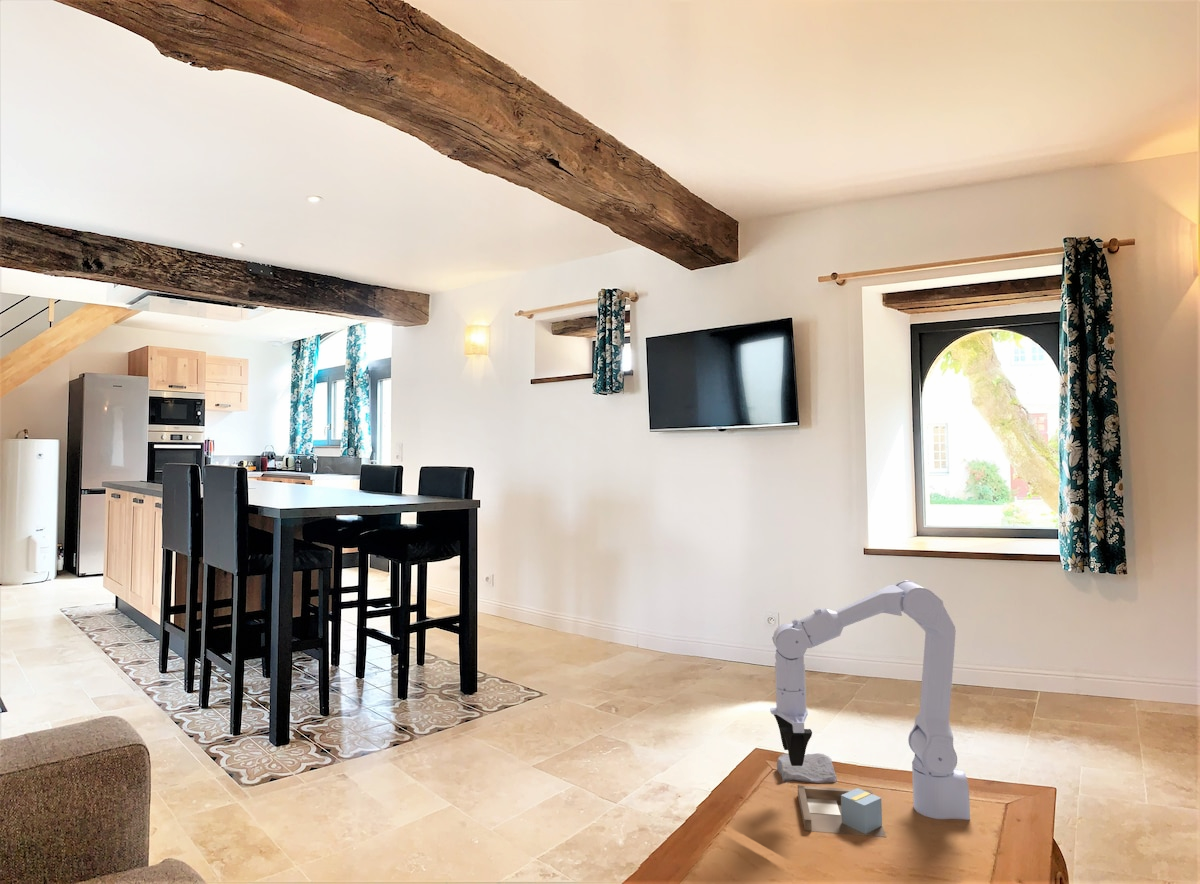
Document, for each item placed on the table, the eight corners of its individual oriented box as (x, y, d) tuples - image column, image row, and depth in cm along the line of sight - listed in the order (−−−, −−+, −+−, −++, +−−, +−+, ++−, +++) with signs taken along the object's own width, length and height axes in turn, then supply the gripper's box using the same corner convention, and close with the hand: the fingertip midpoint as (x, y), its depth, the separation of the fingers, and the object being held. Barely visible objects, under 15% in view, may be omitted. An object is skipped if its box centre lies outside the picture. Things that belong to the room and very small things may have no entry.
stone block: (841, 798, 147) (830, 768, 157) (840, 777, 146) (829, 748, 156) (783, 798, 148) (775, 769, 158) (782, 777, 147) (775, 749, 157)
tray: (871, 806, 139) (871, 790, 139) (886, 843, 125) (886, 825, 125) (798, 801, 141) (797, 785, 141) (804, 837, 127) (804, 819, 128)
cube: (858, 815, 133) (857, 787, 133) (882, 825, 129) (881, 797, 129) (841, 822, 130) (840, 794, 130) (865, 834, 126) (864, 804, 126)
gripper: (764, 676, 147) (766, 742, 146) (776, 698, 132) (778, 772, 132) (799, 676, 146) (801, 743, 146) (814, 698, 132) (817, 772, 131)
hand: (792, 757), depth 139 cm, fingers open, 7 cm apart
